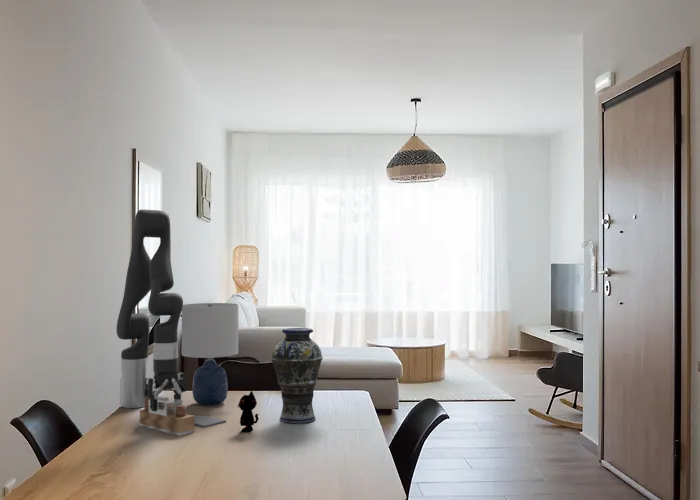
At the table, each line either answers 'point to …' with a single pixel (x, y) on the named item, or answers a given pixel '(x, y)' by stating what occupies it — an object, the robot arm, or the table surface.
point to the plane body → (167, 420)
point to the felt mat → (207, 421)
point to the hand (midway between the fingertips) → (165, 408)
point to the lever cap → (166, 406)
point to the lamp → (209, 346)
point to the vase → (297, 374)
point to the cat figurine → (247, 412)
